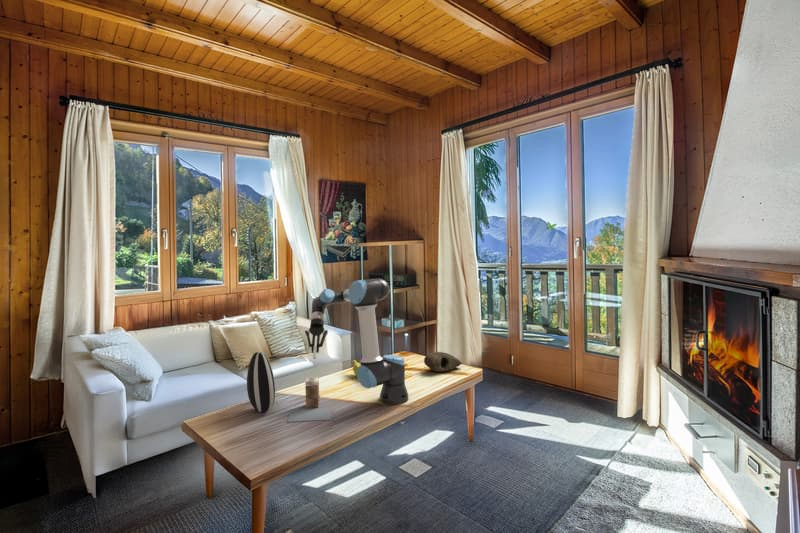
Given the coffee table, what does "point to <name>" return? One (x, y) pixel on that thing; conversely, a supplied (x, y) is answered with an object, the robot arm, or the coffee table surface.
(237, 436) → the coffee table surface
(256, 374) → the sunflower seed
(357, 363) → the fruit
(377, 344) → the robot arm
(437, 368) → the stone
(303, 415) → the mat
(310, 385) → the block
